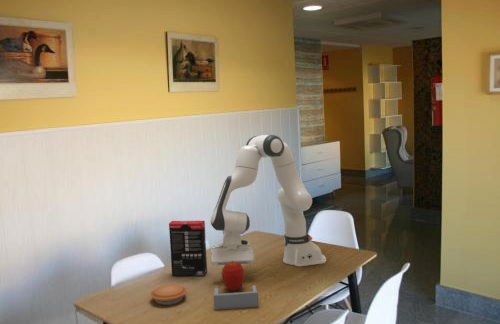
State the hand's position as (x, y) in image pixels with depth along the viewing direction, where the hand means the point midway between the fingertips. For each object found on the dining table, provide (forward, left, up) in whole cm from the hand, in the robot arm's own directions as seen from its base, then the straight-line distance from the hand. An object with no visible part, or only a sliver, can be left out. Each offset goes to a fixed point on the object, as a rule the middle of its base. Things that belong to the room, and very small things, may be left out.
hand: (233, 272), depth 214 cm
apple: (0, +5, -6) cm, 8 cm away
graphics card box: (+21, -18, -6) cm, 28 cm away
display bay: (-1, +16, -6) cm, 18 cm away
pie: (+28, +12, -6) cm, 31 cm away
